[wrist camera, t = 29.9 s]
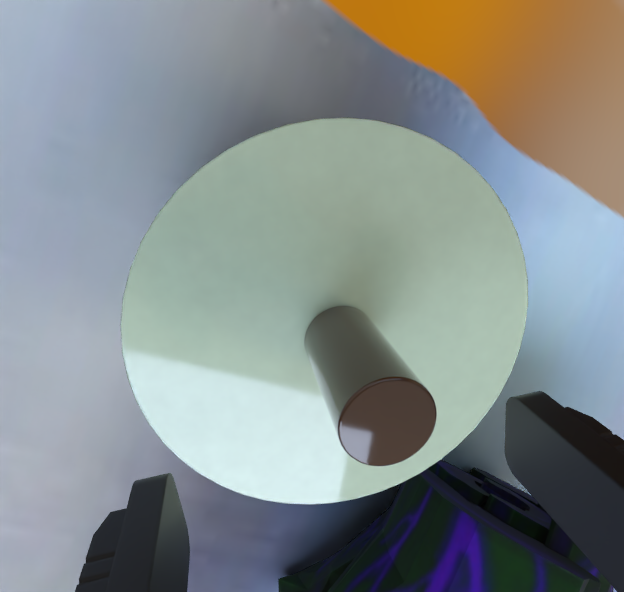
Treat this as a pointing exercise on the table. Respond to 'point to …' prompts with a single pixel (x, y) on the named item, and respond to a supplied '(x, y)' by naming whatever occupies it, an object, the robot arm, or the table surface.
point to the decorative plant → (456, 543)
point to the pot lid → (324, 311)
